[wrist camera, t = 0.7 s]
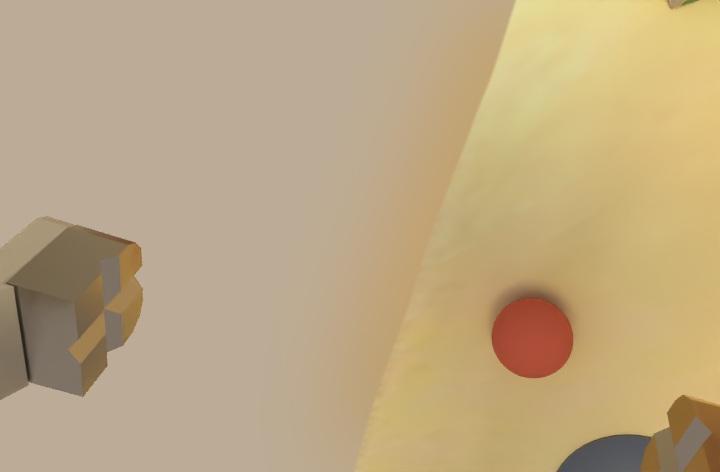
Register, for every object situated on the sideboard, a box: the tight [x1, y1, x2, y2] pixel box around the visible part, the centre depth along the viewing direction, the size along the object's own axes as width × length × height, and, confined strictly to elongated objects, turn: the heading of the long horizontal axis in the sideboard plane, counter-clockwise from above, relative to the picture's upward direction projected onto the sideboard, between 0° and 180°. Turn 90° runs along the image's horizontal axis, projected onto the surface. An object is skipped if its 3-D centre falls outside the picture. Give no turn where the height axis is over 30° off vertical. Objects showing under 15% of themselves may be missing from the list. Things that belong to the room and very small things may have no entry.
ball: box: [492, 298, 573, 378], centre depth 52 cm, size 6×6×6 cm
